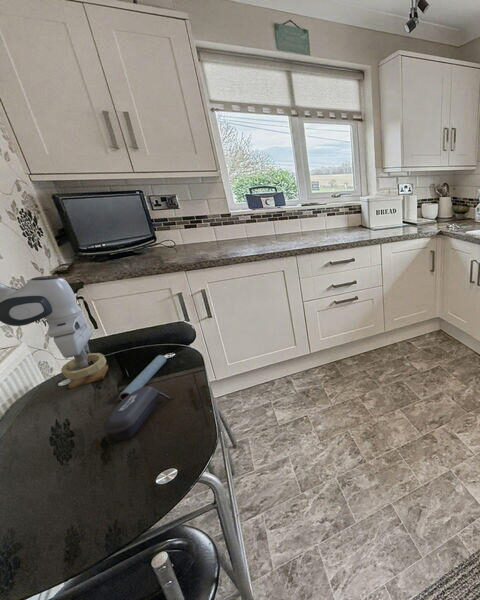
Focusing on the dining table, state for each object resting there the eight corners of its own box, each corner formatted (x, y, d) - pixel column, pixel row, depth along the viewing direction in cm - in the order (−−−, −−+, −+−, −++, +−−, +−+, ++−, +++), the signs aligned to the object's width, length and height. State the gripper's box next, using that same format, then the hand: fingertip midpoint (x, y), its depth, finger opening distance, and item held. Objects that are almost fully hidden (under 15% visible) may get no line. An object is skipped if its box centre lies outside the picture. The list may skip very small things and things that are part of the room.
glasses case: (131, 402, 96) (132, 380, 94) (171, 406, 100) (174, 384, 98) (91, 448, 80) (92, 421, 78) (142, 450, 83) (143, 425, 81)
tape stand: (69, 389, 108) (50, 354, 103) (76, 377, 115) (59, 343, 110) (104, 379, 112) (87, 345, 107) (109, 368, 119) (93, 335, 114)
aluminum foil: (133, 400, 99) (129, 391, 98) (109, 405, 98) (104, 395, 97) (168, 362, 120) (165, 354, 119) (148, 365, 119) (144, 357, 118)
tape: (61, 383, 106) (57, 377, 105) (69, 365, 114) (65, 359, 113) (103, 371, 111) (100, 365, 110) (108, 354, 119) (105, 349, 118)
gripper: (65, 315, 117) (82, 348, 122) (45, 335, 100) (65, 373, 105) (87, 310, 120) (103, 343, 125) (72, 329, 103) (91, 366, 108)
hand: (86, 357), depth 115 cm, fingers closed on tape, 1 cm apart
